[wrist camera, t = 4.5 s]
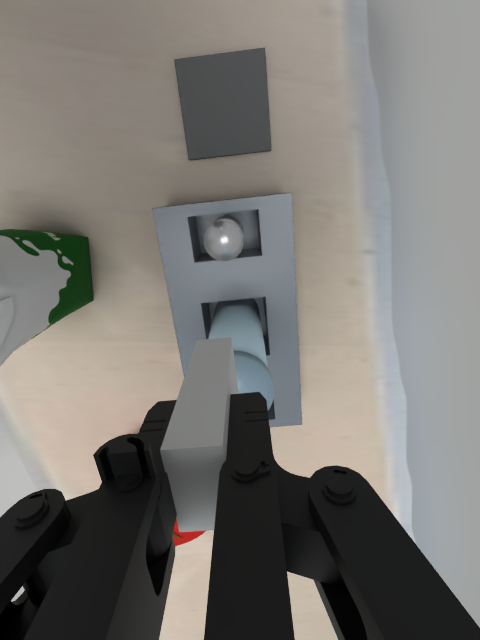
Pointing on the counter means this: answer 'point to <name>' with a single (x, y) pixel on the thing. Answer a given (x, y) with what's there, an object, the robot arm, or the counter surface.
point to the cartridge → (245, 344)
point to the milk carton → (39, 283)
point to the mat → (224, 103)
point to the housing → (237, 283)
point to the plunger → (224, 238)
